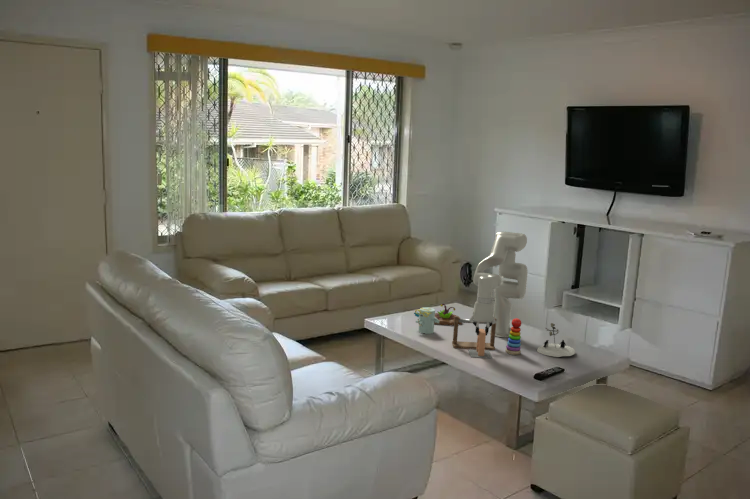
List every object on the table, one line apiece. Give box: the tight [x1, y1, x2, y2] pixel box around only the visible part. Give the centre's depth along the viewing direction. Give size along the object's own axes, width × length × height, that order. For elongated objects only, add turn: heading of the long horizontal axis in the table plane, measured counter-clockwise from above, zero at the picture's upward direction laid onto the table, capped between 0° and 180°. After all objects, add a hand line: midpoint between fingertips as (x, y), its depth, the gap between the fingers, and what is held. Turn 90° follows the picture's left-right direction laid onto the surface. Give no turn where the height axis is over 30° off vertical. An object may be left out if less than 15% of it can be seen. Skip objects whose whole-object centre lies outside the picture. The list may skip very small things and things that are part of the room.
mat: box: [467, 349, 493, 359], centre depth 330 cm, size 11×11×1 cm
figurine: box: [536, 322, 576, 358], centre depth 339 cm, size 20×18×16 cm
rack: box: [451, 315, 496, 351], centre depth 341 cm, size 22×8×16 cm, turn 89°
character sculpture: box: [413, 306, 440, 335], centre depth 363 cm, size 20×12×13 cm, turn 43°
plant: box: [434, 303, 463, 326], centre depth 388 cm, size 20×20×11 cm
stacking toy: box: [505, 318, 522, 356], centre depth 333 cm, size 8×8×19 cm
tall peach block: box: [475, 328, 486, 356], centre depth 329 cm, size 3×8×12 cm, turn 177°
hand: (481, 334), depth 329 cm, fingers open, 3 cm apart
